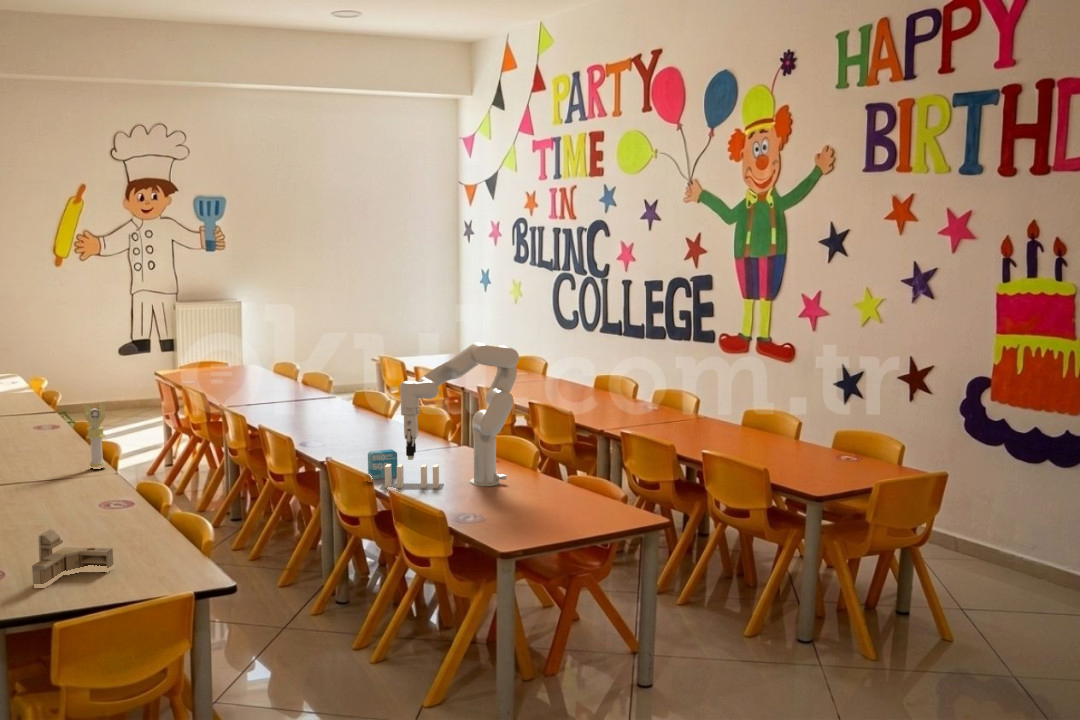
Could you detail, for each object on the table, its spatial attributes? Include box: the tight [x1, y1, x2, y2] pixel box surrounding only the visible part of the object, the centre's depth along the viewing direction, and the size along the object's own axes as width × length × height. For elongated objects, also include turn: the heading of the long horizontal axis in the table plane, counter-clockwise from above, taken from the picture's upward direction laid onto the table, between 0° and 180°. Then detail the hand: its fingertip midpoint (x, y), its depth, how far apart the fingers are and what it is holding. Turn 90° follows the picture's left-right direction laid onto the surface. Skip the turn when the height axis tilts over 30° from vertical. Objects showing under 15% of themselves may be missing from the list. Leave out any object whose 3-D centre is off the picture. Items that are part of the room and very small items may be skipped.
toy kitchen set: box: [31, 529, 114, 585], centre depth 313 cm, size 18×17×15 cm
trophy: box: [83, 402, 106, 467], centre depth 453 cm, size 8×8×30 cm
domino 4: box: [420, 463, 428, 488], centre depth 423 cm, size 2×5×9 cm, turn 179°
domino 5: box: [432, 463, 440, 488], centre depth 423 cm, size 2×5×9 cm, turn 179°
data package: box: [367, 449, 398, 480], centre depth 439 cm, size 12×4×12 cm, turn 115°
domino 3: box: [407, 438, 415, 461], centre depth 419 cm, size 2×5×9 cm, turn 0°
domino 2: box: [396, 463, 405, 488], centre depth 423 cm, size 2×5×9 cm, turn 179°
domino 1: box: [384, 464, 393, 488], centre depth 423 cm, size 2×5×9 cm, turn 179°
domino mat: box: [379, 482, 445, 491], centre depth 424 cm, size 26×10×1 cm, turn 89°
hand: (411, 453), depth 419 cm, fingers closed on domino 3, 4 cm apart
